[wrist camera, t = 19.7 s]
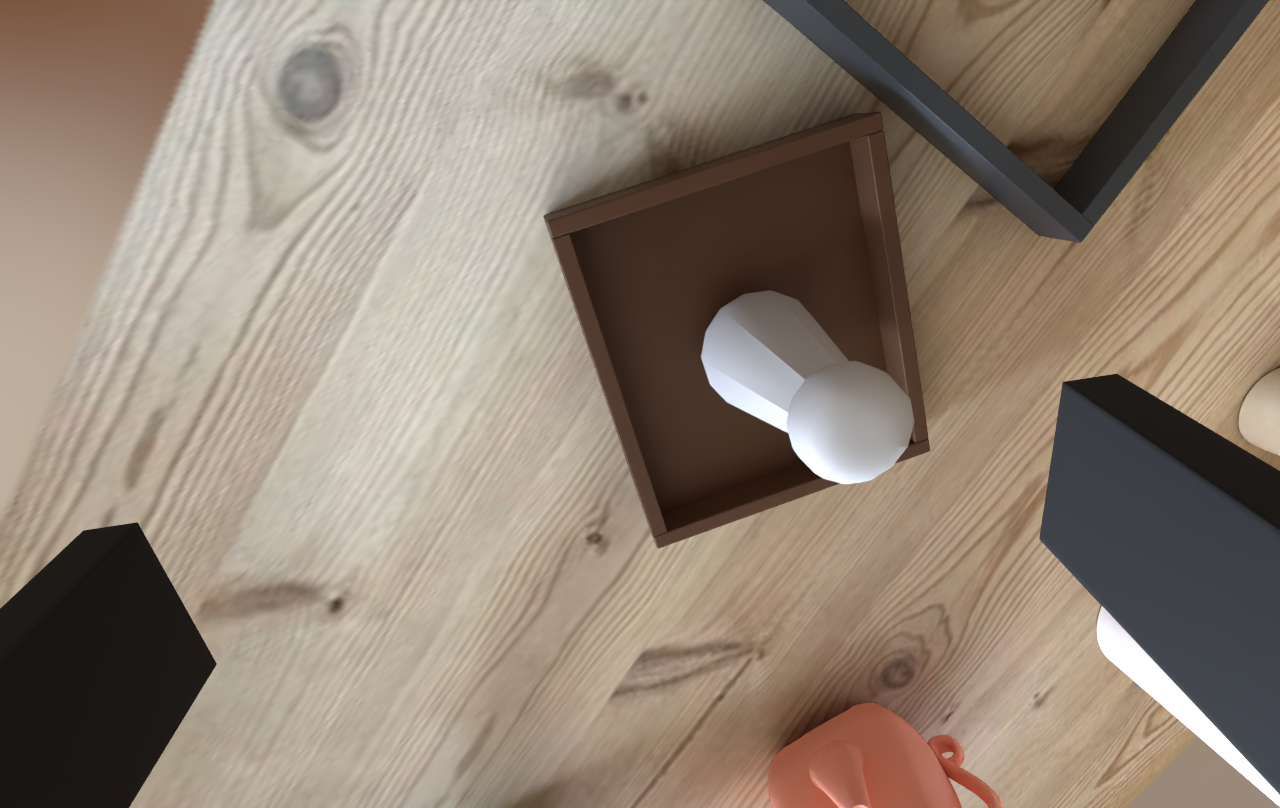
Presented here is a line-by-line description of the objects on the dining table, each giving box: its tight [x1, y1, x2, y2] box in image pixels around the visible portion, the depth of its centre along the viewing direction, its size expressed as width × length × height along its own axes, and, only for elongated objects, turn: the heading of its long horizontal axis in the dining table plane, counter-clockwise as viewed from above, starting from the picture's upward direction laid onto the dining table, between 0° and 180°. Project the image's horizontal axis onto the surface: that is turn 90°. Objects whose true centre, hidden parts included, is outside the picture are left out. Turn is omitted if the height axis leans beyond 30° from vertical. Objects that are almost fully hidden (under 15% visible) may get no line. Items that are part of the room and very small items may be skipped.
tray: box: [544, 112, 930, 548], centre depth 35 cm, size 18×16×3 cm
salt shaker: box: [701, 290, 914, 484], centre depth 30 cm, size 6×6×13 cm
